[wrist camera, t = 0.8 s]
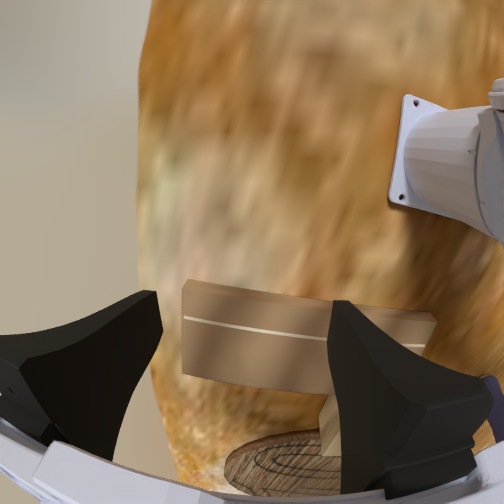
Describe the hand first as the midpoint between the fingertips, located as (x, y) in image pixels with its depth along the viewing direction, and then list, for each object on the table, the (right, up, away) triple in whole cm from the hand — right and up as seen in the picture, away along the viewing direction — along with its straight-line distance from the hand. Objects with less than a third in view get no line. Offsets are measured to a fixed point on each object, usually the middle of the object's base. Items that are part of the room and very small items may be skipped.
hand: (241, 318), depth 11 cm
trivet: (+9, -29, +21) cm, 37 cm away
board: (+5, -5, +12) cm, 14 cm away
